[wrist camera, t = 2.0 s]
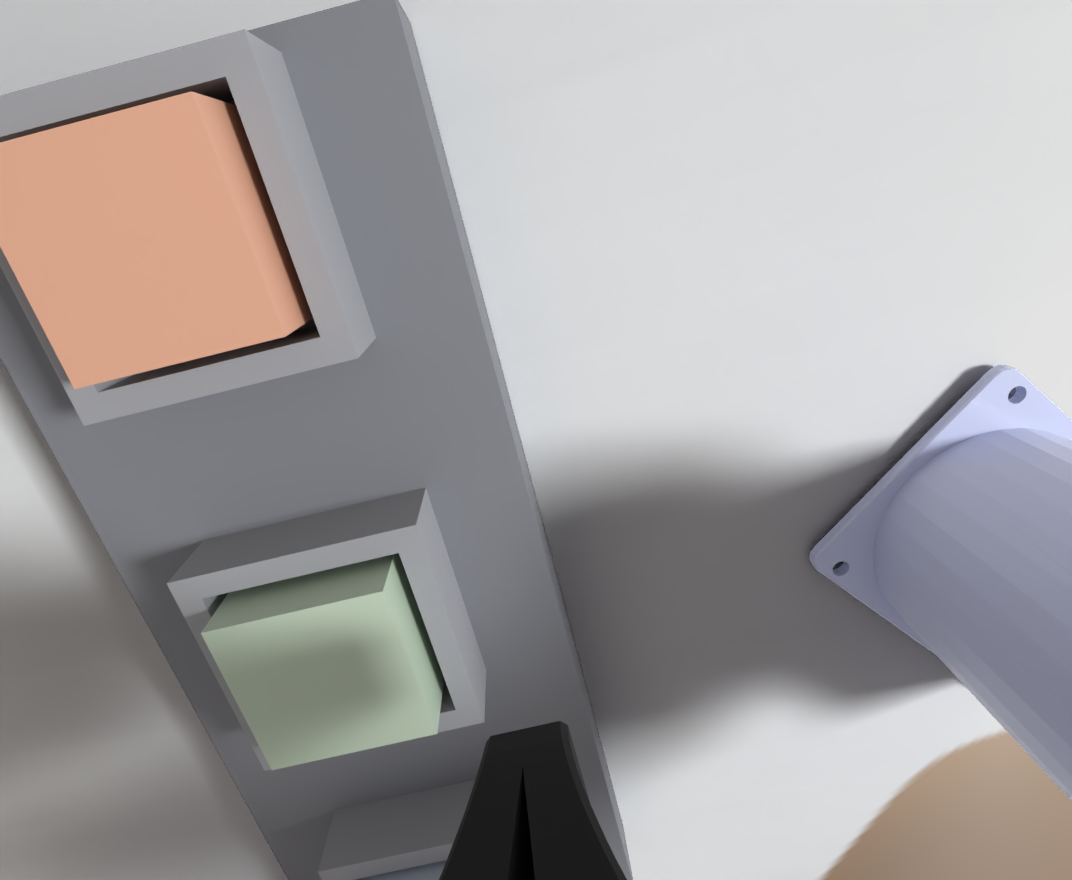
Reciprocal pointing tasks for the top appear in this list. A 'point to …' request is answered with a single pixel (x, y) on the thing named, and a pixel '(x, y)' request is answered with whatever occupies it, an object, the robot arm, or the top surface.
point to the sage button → (329, 661)
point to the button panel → (327, 438)
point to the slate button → (413, 873)
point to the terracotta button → (147, 238)
